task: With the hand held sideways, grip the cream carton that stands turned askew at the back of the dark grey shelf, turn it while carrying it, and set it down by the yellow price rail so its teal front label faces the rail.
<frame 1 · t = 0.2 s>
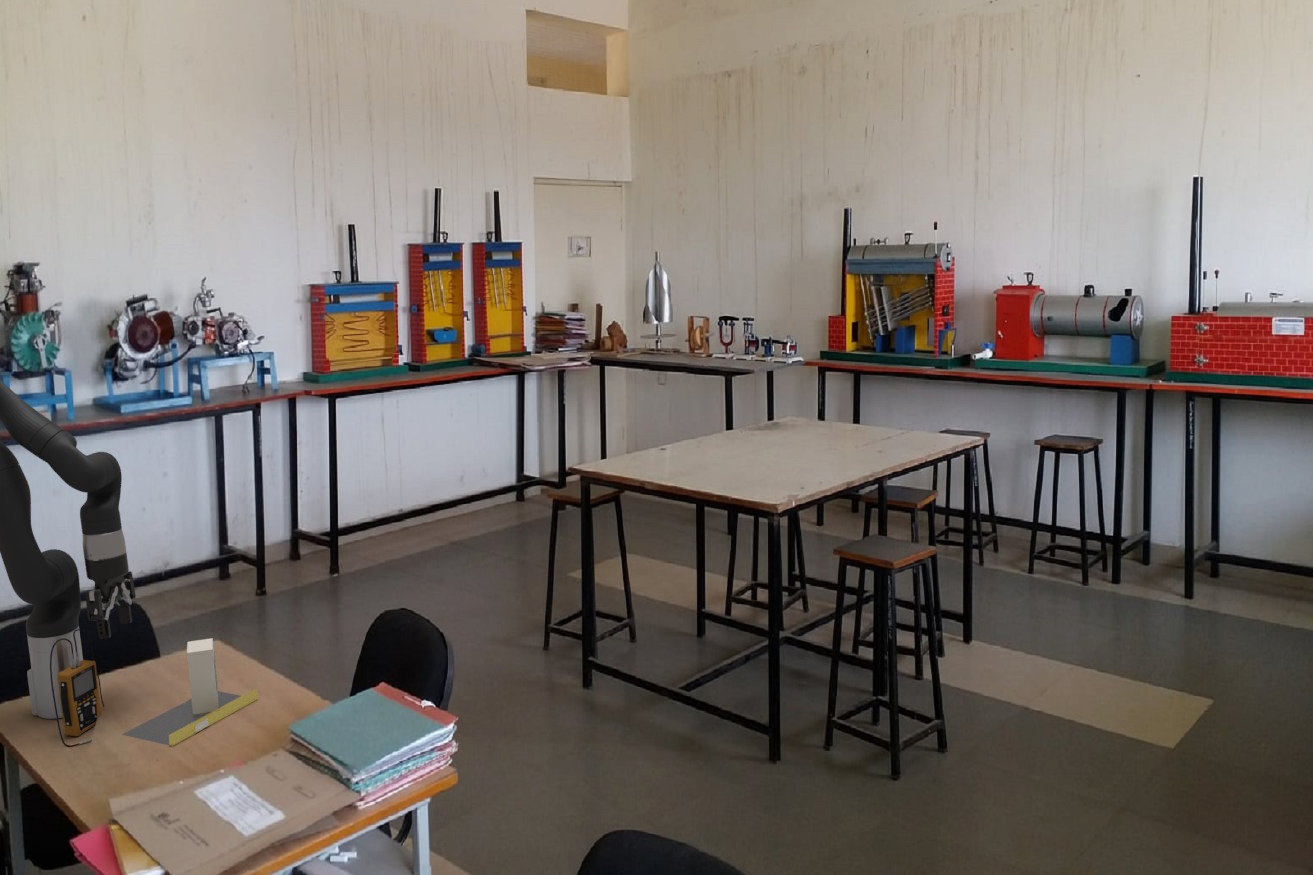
hand: (115, 630, 216), 17 cm above the table, tool pointing down, fingers open, 8 cm apart
carton: (205, 706, 217), point 1 cm above the table, touching shelf
shelf: (193, 723, 213), on the table
multimeter: (100, 731, 210), on the table
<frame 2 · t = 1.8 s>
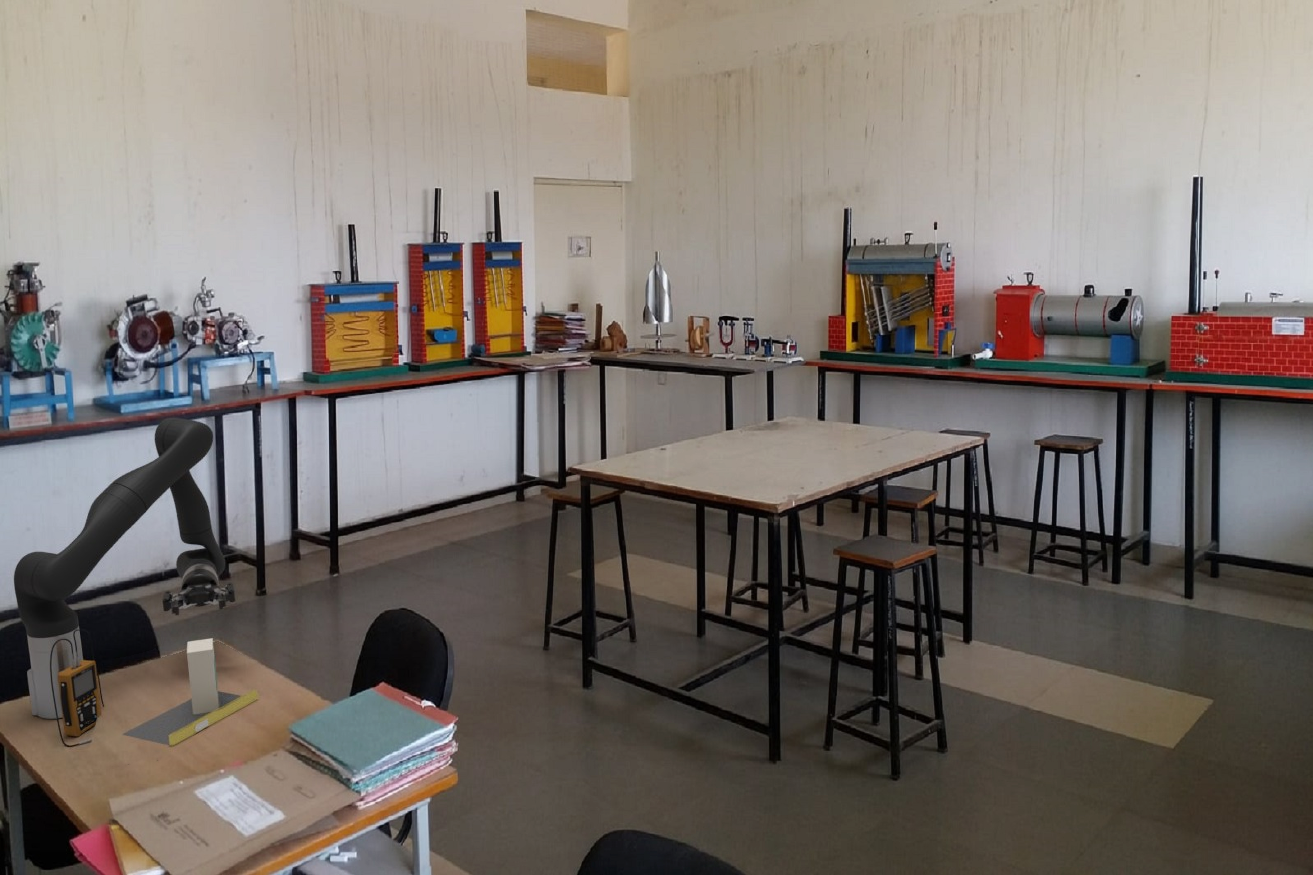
hand: (199, 607, 224), 19 cm above the table, tool horizontal, fingers open, 8 cm apart
nothing on the table moved.
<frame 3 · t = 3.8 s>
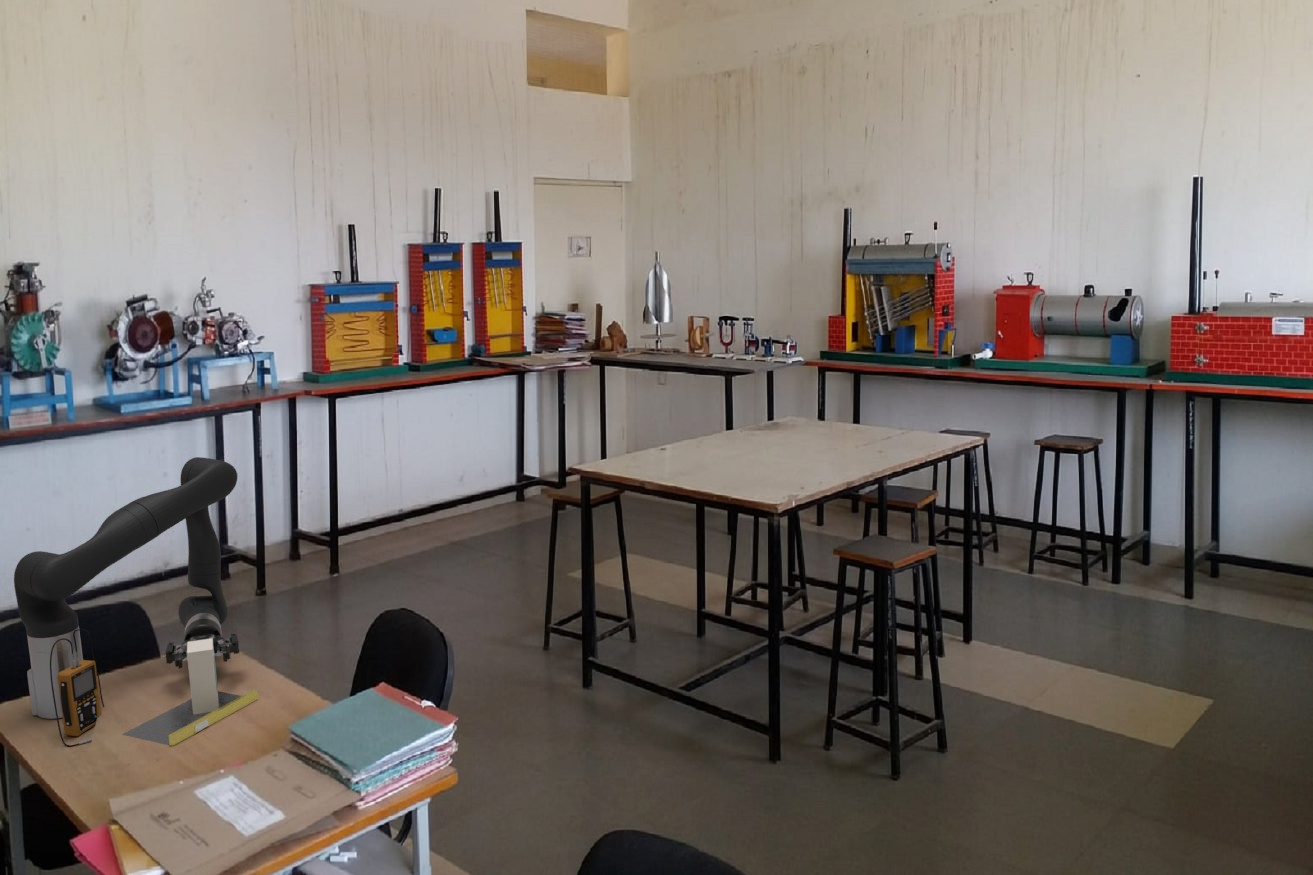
hand: (202, 660, 221), 9 cm above the table, tool horizontal, fingers open, 8 cm apart
nothing on the table moved.
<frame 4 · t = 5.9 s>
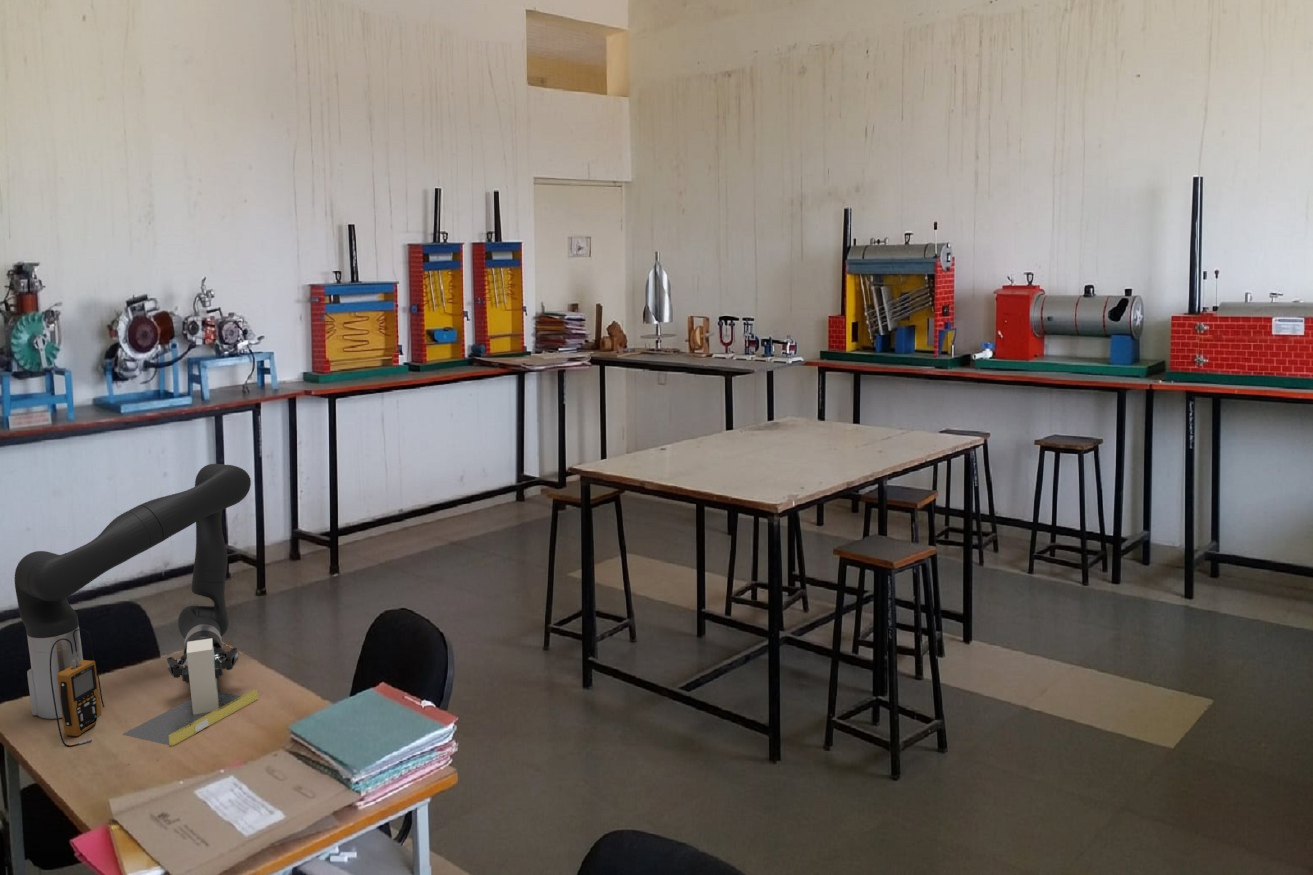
hand: (202, 676, 213), 9 cm above the table, tool horizontal, fingers closed on carton, 4 cm apart
carton: (205, 706, 217), point 2 cm above the table, touching gripper, shelf
everything else where it was.
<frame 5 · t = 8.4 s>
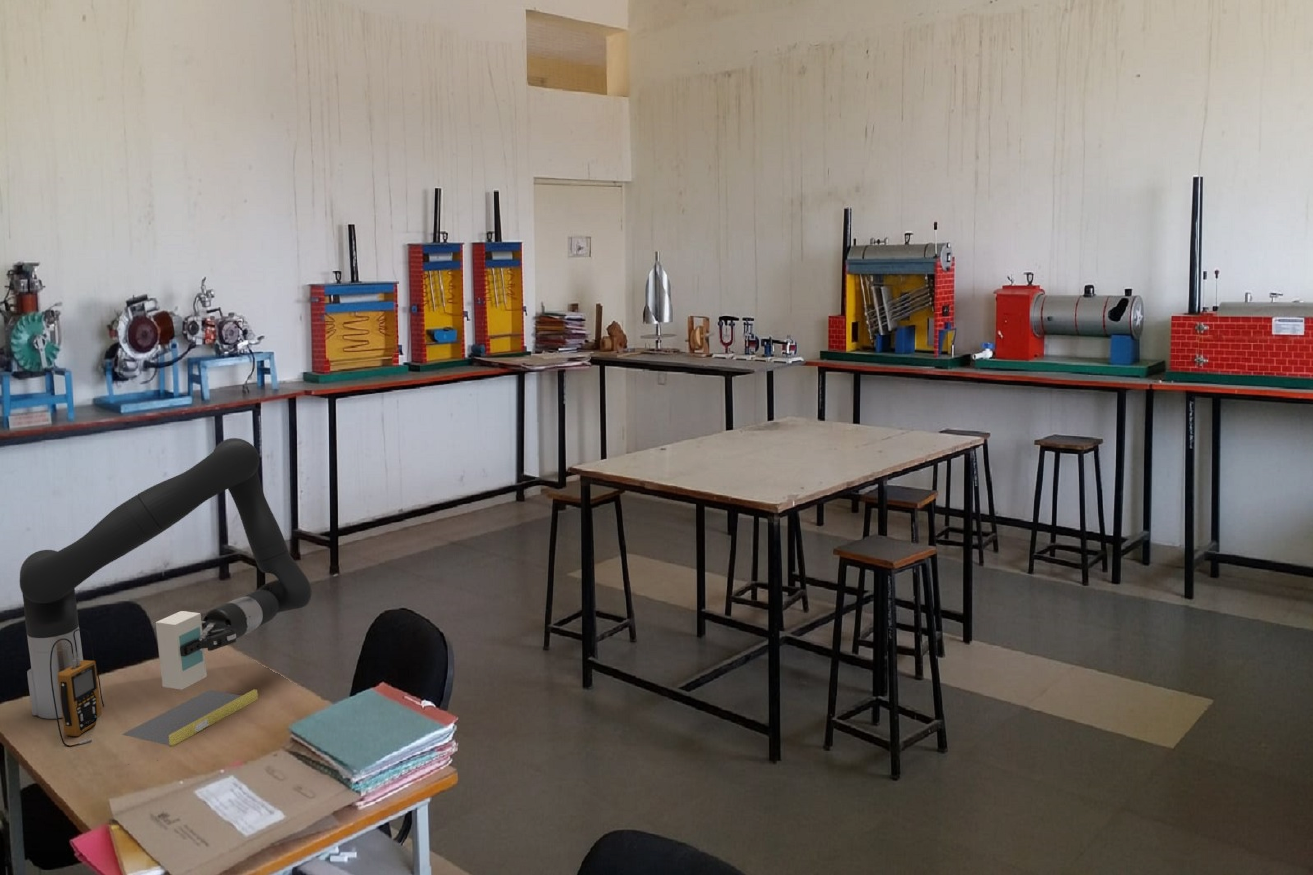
hand: (171, 650, 204), 18 cm above the table, tool horizontal, fingers closed on carton, 4 cm apart
carton: (184, 681, 208), point 10 cm above the table, touching gripper
everything else where it was.
when the fingers open (10 cm above the table, at t = 10.8 s): carton stays where it is, resting on shelf.
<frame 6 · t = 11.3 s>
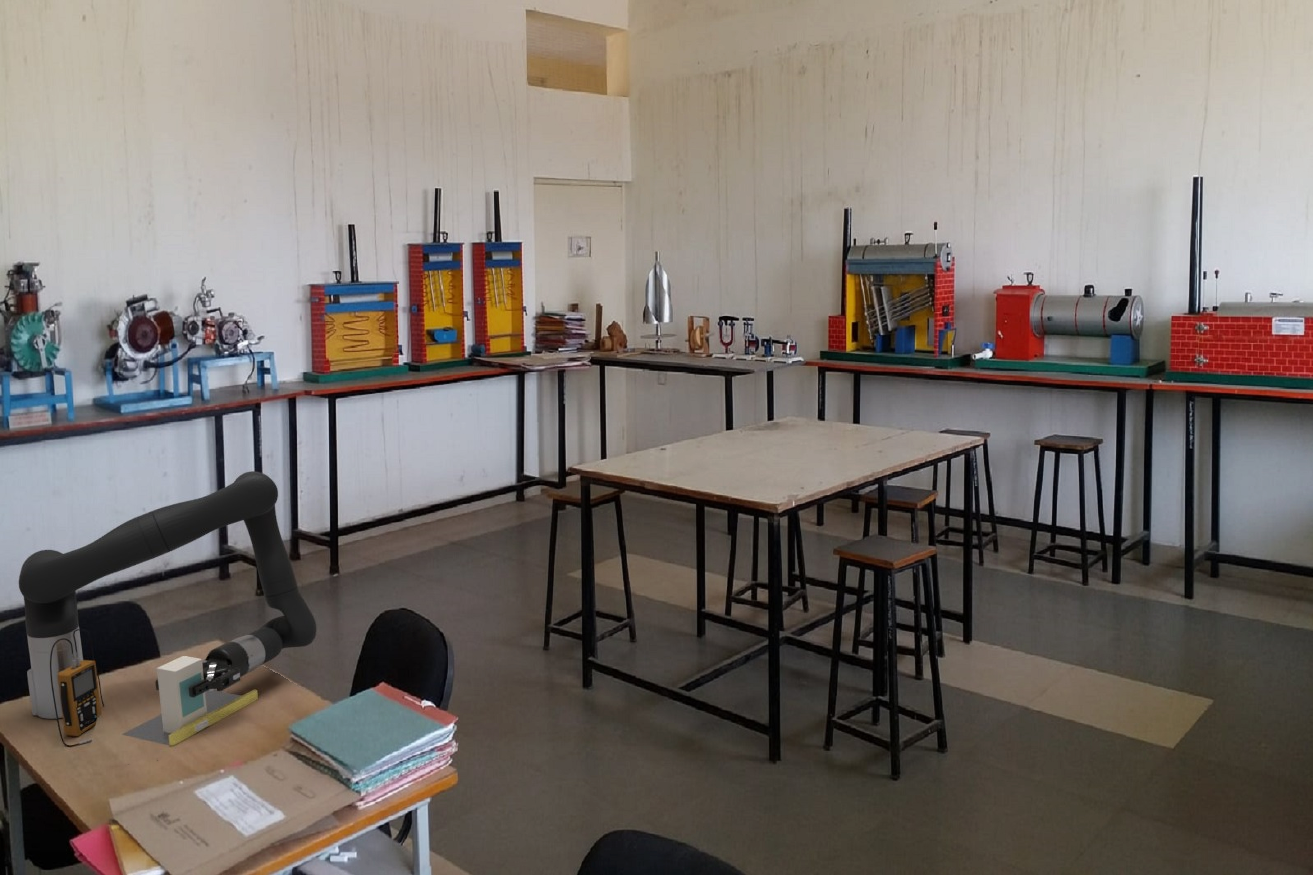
hand: (173, 689, 205), 10 cm above the table, tool horizontal, fingers open, 8 cm apart
carton: (185, 726, 208), point 1 cm above the table, touching shelf
everything else where it was.
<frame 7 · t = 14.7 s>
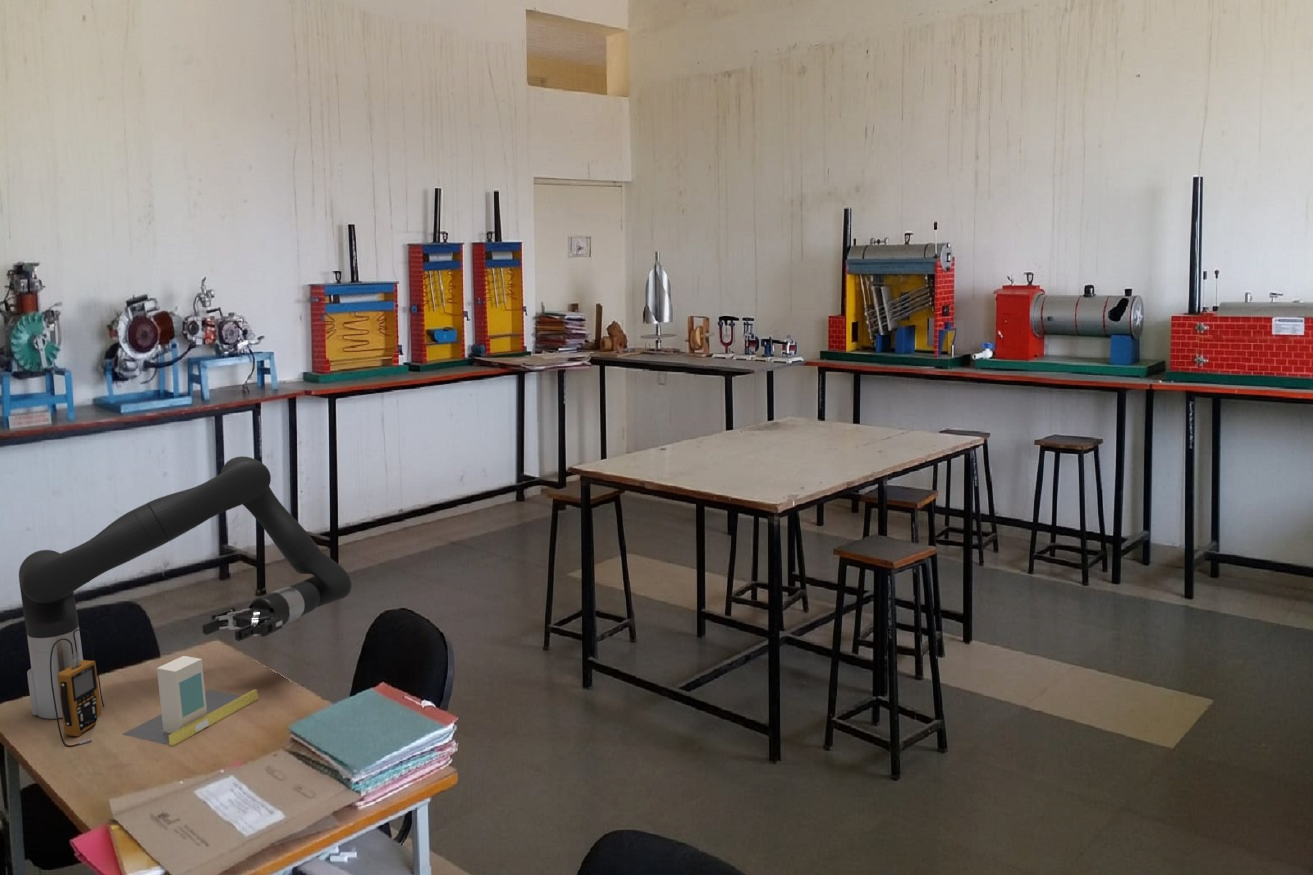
hand: (220, 633, 215), 17 cm above the table, tool horizontal, fingers open, 8 cm apart
nothing on the table moved.
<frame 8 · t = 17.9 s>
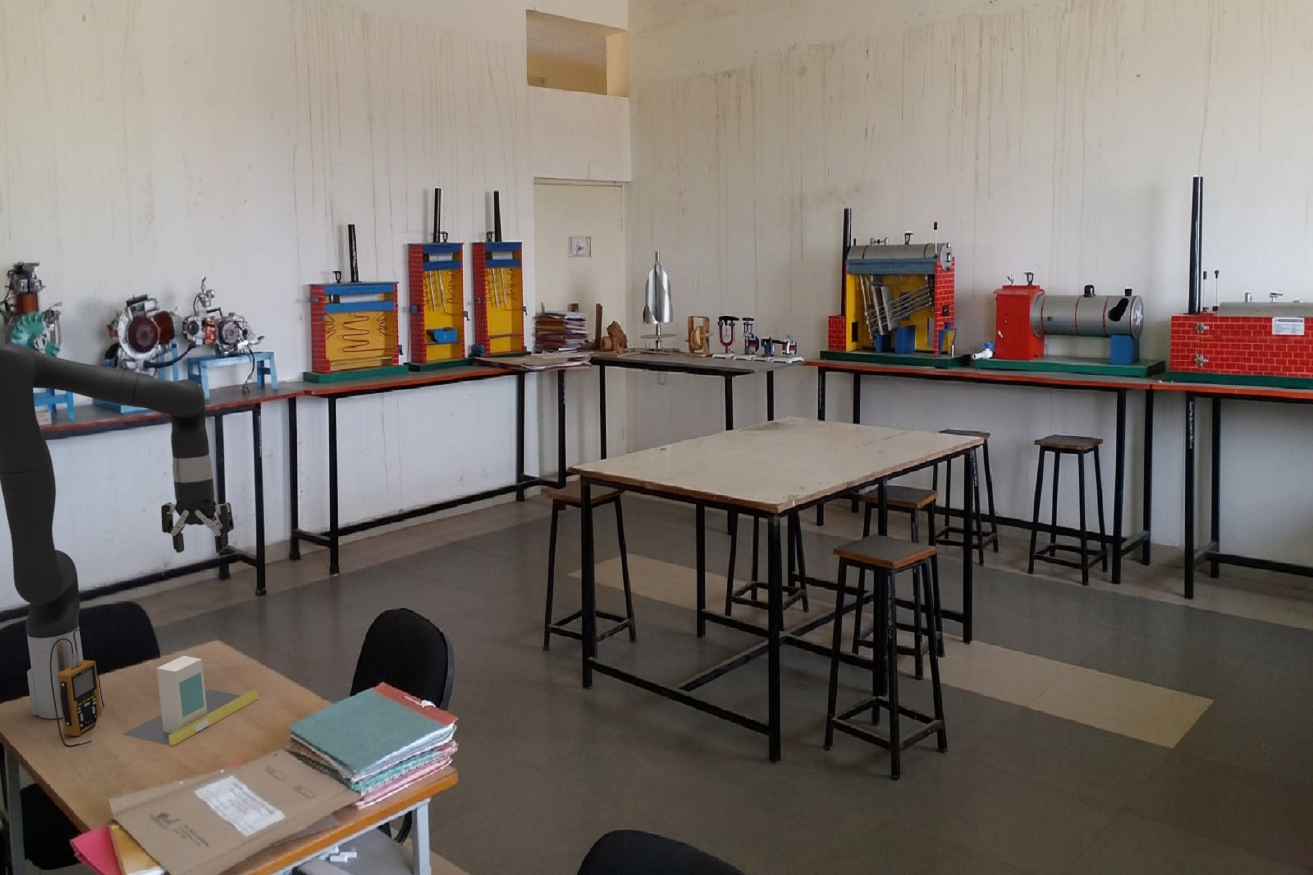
hand: (200, 551, 225), 30 cm above the table, tool pointing down, fingers open, 8 cm apart
nothing on the table moved.
at the end: carton 0.0 cm from the target spot on the shelf, point 1.5 cm above the shelf's base; carton tilted 0°; the gripper is holding nothing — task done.
